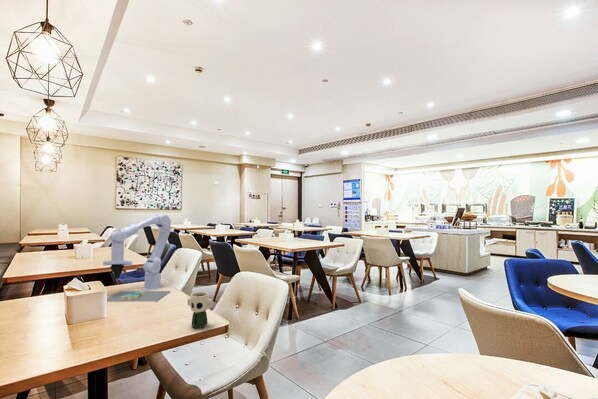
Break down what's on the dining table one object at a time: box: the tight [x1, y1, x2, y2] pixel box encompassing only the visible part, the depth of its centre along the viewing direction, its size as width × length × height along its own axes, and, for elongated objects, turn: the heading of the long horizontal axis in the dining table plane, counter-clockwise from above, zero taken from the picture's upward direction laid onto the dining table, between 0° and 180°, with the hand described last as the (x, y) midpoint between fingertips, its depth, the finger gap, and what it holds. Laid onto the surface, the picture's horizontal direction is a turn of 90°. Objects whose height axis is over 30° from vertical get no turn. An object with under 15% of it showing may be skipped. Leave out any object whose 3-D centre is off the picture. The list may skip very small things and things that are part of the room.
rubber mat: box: [106, 290, 171, 303], centre depth 159 cm, size 18×28×1 cm, turn 92°
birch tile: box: [121, 290, 145, 300], centre depth 157 cm, size 9×2×8 cm
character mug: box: [187, 291, 213, 329], centre depth 121 cm, size 11×7×13 cm, turn 78°
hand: (117, 278), depth 161 cm, fingers closed
